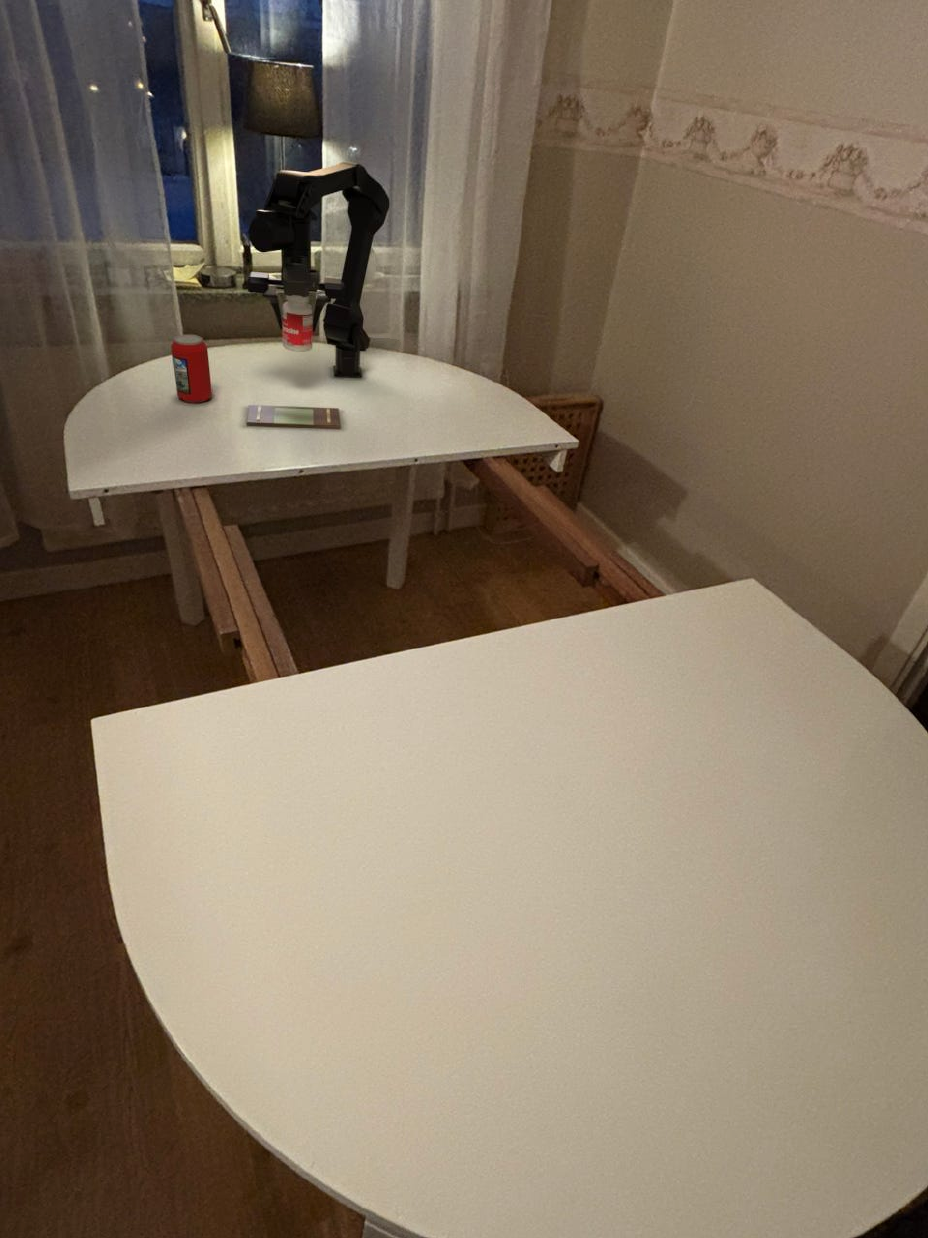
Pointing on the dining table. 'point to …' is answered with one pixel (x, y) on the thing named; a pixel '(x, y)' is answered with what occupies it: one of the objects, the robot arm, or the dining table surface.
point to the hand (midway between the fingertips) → (297, 330)
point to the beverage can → (191, 368)
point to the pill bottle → (297, 324)
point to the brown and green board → (293, 417)
